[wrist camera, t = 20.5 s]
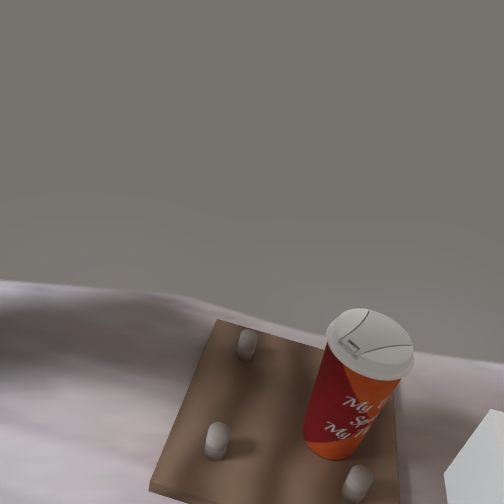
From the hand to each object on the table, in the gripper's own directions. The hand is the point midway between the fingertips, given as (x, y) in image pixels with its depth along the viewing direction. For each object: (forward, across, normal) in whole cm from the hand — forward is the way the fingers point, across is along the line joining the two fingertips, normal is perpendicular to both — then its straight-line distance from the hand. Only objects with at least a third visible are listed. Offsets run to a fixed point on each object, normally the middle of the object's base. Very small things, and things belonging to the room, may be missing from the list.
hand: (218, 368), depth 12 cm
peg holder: (+25, +6, -32) cm, 41 cm away
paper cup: (+24, +10, -31) cm, 40 cm away
